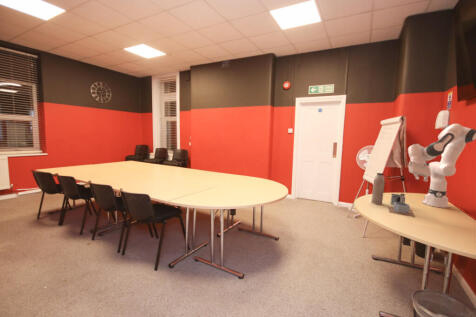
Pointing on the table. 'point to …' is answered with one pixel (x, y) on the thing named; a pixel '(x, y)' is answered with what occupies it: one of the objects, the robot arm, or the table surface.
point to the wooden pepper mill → (378, 189)
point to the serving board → (401, 213)
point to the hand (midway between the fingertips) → (421, 180)
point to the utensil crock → (401, 208)
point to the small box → (395, 198)
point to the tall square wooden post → (402, 199)
